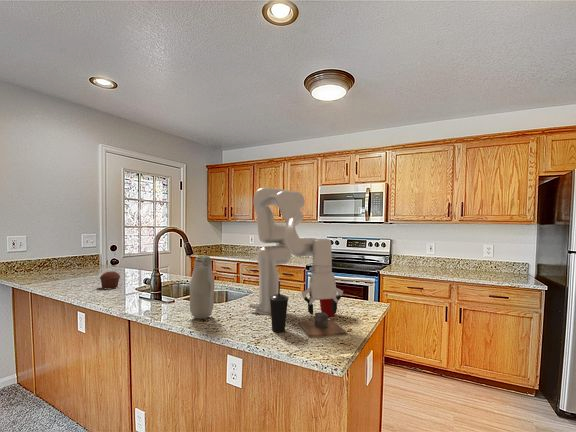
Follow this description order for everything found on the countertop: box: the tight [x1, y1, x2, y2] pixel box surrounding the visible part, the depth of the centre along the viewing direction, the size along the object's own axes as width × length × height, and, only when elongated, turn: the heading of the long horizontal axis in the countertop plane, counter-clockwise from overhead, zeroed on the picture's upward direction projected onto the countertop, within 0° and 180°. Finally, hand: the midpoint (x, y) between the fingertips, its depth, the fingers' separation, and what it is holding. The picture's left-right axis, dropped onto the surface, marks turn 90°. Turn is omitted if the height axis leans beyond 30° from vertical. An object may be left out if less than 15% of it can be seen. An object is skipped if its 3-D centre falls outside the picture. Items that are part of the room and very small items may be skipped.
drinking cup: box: [269, 280, 289, 334], centre depth 117 cm, size 8×8×20 cm
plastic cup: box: [319, 291, 338, 318], centre depth 138 cm, size 11×11×12 cm
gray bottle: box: [189, 254, 215, 320], centre depth 133 cm, size 10×10×28 cm
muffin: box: [99, 270, 121, 289], centre depth 191 cm, size 12×11×10 cm
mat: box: [296, 323, 349, 339], centre depth 119 cm, size 16×16×1 cm
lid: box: [297, 311, 348, 339], centre depth 119 cm, size 15×15×6 cm
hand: (322, 312), depth 118 cm, fingers open, 9 cm apart
